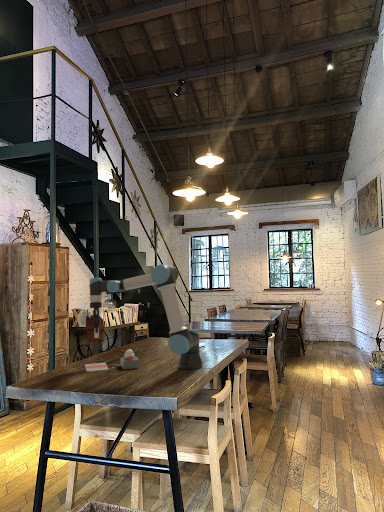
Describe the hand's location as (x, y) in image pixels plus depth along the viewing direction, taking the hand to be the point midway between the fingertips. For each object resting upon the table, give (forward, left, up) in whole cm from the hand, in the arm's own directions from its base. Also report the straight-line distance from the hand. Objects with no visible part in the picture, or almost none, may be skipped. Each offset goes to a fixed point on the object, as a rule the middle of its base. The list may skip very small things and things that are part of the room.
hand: (96, 337), depth 243 cm
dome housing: (-9, -20, -19) cm, 29 cm away
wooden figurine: (0, 0, -4) cm, 4 cm away
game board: (0, 0, -19) cm, 19 cm away
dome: (-7, -20, -14) cm, 25 cm away
